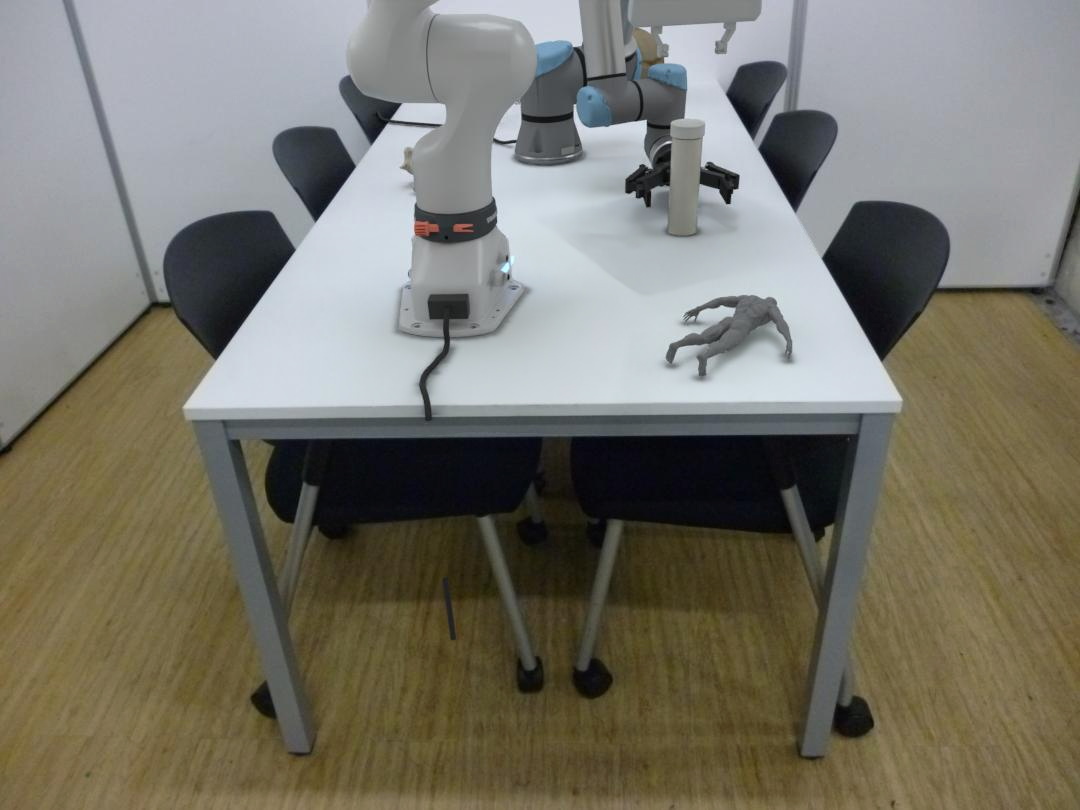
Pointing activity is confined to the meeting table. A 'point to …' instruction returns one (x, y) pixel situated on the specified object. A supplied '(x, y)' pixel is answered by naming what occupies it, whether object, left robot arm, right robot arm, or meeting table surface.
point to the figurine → (732, 326)
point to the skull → (646, 50)
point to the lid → (687, 128)
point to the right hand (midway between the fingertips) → (689, 198)
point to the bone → (408, 161)
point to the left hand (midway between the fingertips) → (691, 55)
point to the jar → (684, 186)
